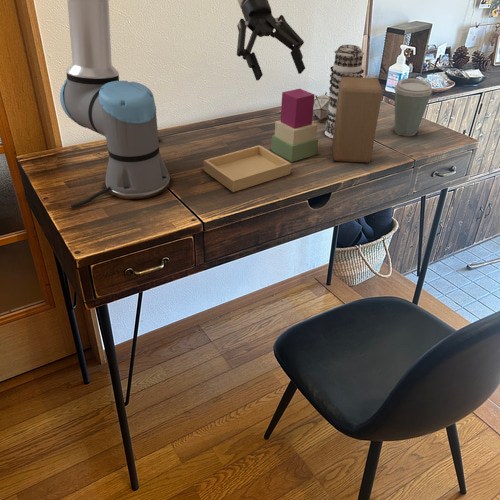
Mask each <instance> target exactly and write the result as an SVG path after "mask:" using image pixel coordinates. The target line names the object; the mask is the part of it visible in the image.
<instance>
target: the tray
mask: <svg viewBox="0 0 500 500" xmlns="http://www.w3.org/2000/svg"><path fill="white" fill-rule="evenodd" d="M291 169H292V162H290V161H289V160H287V159H285V158H284V157H282V156H280V155H278V154H277V153H275V152H273V151H271V150H269V149H267V148H266V147H263V146H262V145H260V144H259V145H255V146H251V147H248V148H247V147H246V148H245V149H240V150H237V151H232V152H229V153H226V154H222V155H219V156H215V157H211V158H210V157H209V158H207V159H204V160H203V171H204V172H205V173H206V174H208V175H209V176H210V177H212V178H213V179H215V180H216V181H217V182H218V183H220V184H222V185H223V186H224V187H225V188H226V189H228V190H229V191H231V192H233V193H235V192H239V191H241V190H245V189H247V188H250V187H254V186H258V185H260V184H263V183H266V182H267V183H268V182H270V181H272V180H276V179H279V178H282V177H286V176H287V175H288V176H289V175H291Z"/></svg>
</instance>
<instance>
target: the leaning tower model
mask: <svg viewBox="0 0 500 500" xmlns="http://www.w3.org/2000/svg"><path fill="white" fill-rule="evenodd" d="M333 52H334V54H335V55H334V62H333V65H332V66H330V68H329V69H330V72H331V73H330V75H329V78H330V79H329V84H330V86H329V88H328V89H329V91H328V96H329V98H330V104H329V108H328V109H329V110H327V114H328V115H327V118H326V119H327V120H325V126H324V129H325V131H324V134H325V136H327V137H328V138H330V139H333V134H334V126H335V118H336V109H337V101H338V93H339V85H340V80H341V78H343V77H358V78H364V76H363V75H362V74H363V73H364V72H365V70H364V69H363V57H364V54H365V53H364V51H363V50H362V48H361V47H360V46H358V45H356V44H342V45H340V46H339V47H337V49H336V50H334V51H333Z"/></svg>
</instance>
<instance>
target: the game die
mask: <svg viewBox="0 0 500 500" xmlns="http://www.w3.org/2000/svg"><path fill="white" fill-rule="evenodd" d="M327 94H328V93H327V91H326V92H325V93H324V94H322V95H320V96H318V95H316V94H314V95H315V96H314V107H313V115H314V118H316V117H317V119H318V120H319V123H322V121H323V120H325V119H327V115H328V114H327V110H329V109H328V108H329V104H330V98H331V97H330V96H329V95H327Z"/></svg>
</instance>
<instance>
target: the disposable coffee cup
mask: <svg viewBox="0 0 500 500" xmlns="http://www.w3.org/2000/svg"><path fill="white" fill-rule="evenodd" d="M393 90H394V132H395V134H397V135H400V136H403V137H413V136H415V135H416V134H417V133H418V131H419V128H420V125H421V123H422V120H423V118H424V115H425V111H426V109H427V107H428V103H429V101H430V98H431V95H432V93H433V88H432V86H431V85H430V82H427V81H425V80H423V79H419V78H414V77H413V78H411V77H410V78H409V77H408V78H402V79H399V80H398V81H397V83H396V85H395V86H394V89H393Z"/></svg>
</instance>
